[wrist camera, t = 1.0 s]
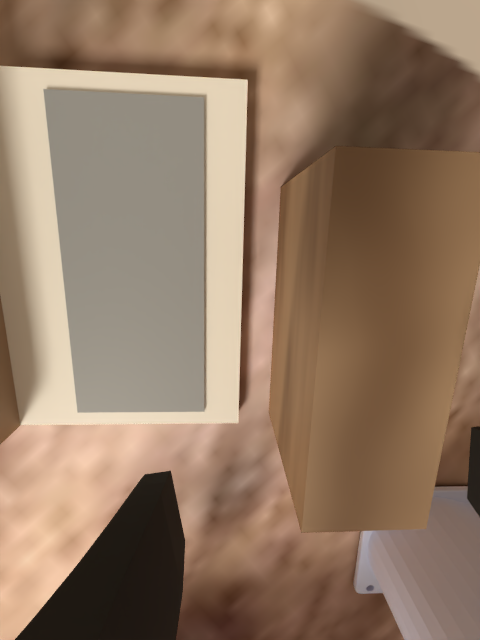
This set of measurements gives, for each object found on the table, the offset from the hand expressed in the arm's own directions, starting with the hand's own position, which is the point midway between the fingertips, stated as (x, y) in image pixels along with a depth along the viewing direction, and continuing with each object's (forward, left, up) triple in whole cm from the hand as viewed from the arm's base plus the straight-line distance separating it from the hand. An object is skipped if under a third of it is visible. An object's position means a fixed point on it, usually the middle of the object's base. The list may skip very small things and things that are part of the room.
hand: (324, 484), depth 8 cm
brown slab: (-2, -2, -10) cm, 11 cm away
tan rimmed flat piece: (+8, -4, -10) cm, 13 cm away
